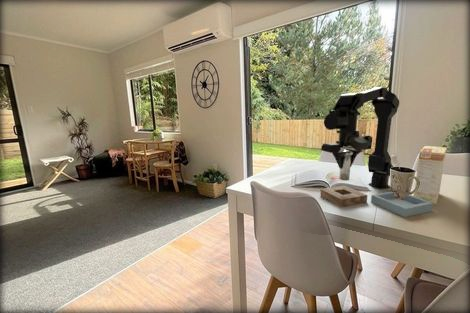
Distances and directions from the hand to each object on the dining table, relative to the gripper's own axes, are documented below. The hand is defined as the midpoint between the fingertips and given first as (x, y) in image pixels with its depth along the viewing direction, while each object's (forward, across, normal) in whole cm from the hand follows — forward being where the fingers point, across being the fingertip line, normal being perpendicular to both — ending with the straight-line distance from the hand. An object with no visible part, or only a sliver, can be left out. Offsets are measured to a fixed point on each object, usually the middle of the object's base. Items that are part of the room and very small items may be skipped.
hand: (345, 167), depth 88 cm
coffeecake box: (+13, +32, -10) cm, 36 cm away
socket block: (+13, 0, 0) cm, 13 cm away
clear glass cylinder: (+4, 0, 0) cm, 4 cm away
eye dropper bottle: (+13, +46, +16) cm, 50 cm away
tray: (+13, +14, -13) cm, 23 cm away
